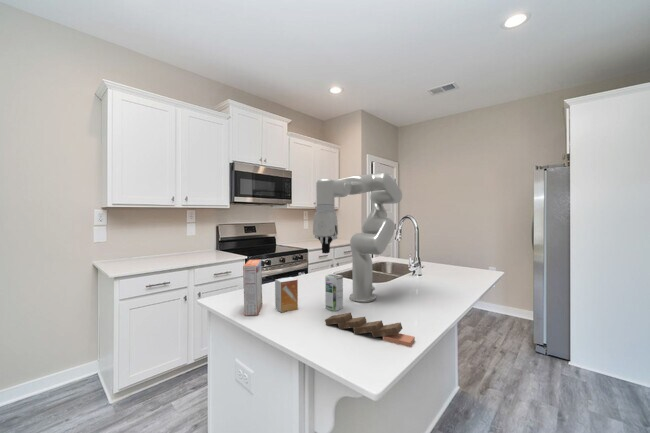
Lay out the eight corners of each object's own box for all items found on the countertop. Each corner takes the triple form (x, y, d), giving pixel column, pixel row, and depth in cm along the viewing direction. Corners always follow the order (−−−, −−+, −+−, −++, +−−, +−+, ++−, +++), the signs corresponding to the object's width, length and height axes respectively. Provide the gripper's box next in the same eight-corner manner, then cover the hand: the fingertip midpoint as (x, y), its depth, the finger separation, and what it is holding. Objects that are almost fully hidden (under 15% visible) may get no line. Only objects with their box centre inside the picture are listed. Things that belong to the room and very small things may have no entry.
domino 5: (382, 336, 95) (410, 342, 90) (388, 330, 99) (414, 336, 94) (382, 342, 95) (410, 349, 90) (388, 336, 99) (414, 342, 94)
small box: (281, 312, 121) (280, 282, 121) (275, 308, 126) (274, 279, 126) (298, 309, 125) (297, 279, 125) (291, 305, 131) (291, 276, 130)
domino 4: (371, 331, 97) (396, 327, 93) (376, 326, 101) (400, 322, 97) (373, 337, 97) (398, 333, 92) (378, 332, 101) (402, 328, 97)
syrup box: (324, 308, 126) (324, 275, 125) (333, 305, 130) (333, 273, 130) (334, 311, 122) (334, 277, 122) (343, 308, 126) (343, 275, 126)
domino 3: (353, 328, 100) (375, 325, 95) (359, 323, 104) (381, 320, 99) (354, 334, 100) (377, 331, 95) (361, 329, 104) (383, 326, 99)
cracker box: (249, 304, 131) (248, 259, 131) (262, 304, 132) (262, 259, 131) (243, 316, 117) (242, 265, 117) (258, 315, 118) (257, 264, 117)
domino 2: (337, 323, 105) (358, 321, 100) (344, 319, 109) (365, 316, 104) (339, 329, 104) (360, 326, 99) (346, 324, 108) (366, 322, 103)
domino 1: (324, 319, 108) (344, 316, 103) (332, 315, 112) (350, 312, 107) (326, 325, 108) (345, 322, 103) (333, 320, 112) (352, 317, 107)
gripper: (305, 209, 121) (306, 252, 122) (335, 209, 113) (336, 255, 113) (316, 209, 127) (316, 250, 128) (345, 208, 119) (345, 253, 119)
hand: (325, 252), depth 120 cm, fingers closed
